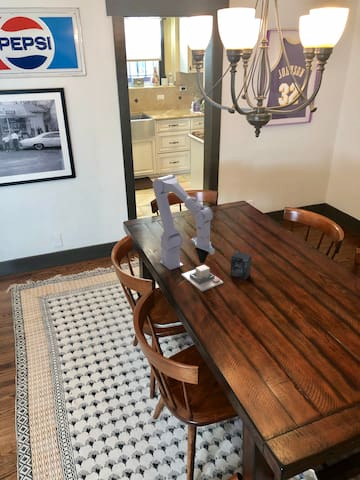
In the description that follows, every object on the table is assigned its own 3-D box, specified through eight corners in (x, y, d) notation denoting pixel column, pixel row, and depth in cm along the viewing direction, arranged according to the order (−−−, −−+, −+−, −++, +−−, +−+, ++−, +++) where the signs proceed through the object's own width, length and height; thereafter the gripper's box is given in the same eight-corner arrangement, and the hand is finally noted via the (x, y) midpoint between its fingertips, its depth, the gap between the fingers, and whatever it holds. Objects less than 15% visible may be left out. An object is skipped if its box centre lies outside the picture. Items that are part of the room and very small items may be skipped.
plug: (195, 277, 169) (195, 267, 167) (204, 274, 172) (204, 264, 170) (200, 281, 166) (200, 271, 164) (209, 278, 169) (209, 268, 167)
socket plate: (181, 275, 172) (181, 271, 171) (202, 268, 178) (202, 264, 177) (201, 291, 160) (202, 286, 159) (223, 283, 166) (223, 278, 165)
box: (229, 275, 172) (231, 256, 167) (234, 270, 176) (235, 250, 172) (245, 280, 169) (247, 260, 164) (250, 274, 173) (252, 254, 168)
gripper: (221, 238, 156) (219, 266, 162) (200, 227, 167) (200, 253, 173) (207, 243, 153) (206, 271, 159) (187, 230, 163) (187, 257, 169)
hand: (202, 262), depth 165 cm, fingers closed
